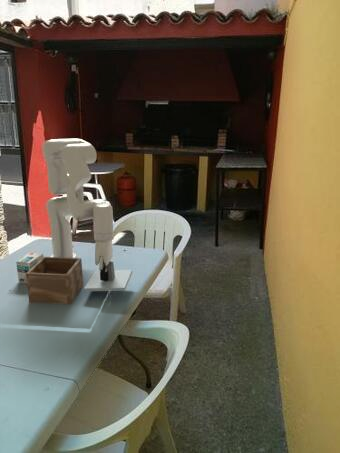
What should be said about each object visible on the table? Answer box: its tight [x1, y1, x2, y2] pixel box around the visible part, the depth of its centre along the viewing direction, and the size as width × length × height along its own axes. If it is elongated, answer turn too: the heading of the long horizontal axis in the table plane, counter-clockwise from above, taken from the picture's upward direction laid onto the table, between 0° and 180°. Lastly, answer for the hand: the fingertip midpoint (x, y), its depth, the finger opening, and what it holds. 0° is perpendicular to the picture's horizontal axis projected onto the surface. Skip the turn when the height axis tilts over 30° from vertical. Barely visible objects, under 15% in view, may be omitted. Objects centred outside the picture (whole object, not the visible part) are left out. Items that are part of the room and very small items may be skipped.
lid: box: [83, 261, 133, 292], centre depth 141 cm, size 16×16×9 cm
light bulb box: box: [15, 252, 44, 284], centre depth 151 cm, size 11×7×11 cm, turn 168°
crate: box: [26, 256, 84, 305], centre depth 139 cm, size 16×16×13 cm
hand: (105, 277), depth 141 cm, fingers closed on lid, 4 cm apart
